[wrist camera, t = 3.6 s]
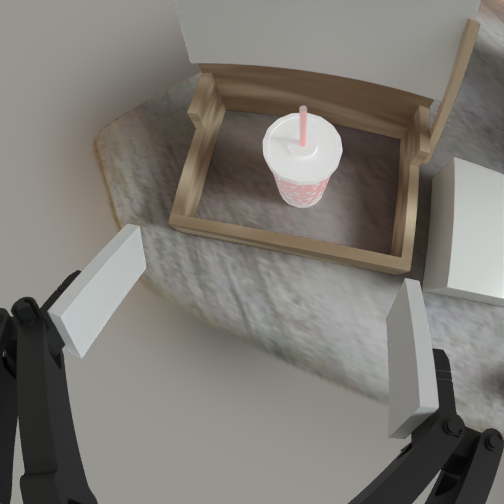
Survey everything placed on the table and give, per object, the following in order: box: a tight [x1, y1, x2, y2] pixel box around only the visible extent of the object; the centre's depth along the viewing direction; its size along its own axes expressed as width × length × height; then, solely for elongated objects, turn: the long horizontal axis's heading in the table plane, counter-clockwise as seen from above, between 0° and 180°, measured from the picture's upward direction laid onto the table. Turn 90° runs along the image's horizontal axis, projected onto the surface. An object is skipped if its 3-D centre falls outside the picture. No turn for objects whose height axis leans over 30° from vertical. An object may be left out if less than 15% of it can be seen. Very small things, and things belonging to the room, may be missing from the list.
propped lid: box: [173, 0, 481, 164], centre depth 19 cm, size 8×23×21 cm, turn 78°
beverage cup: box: [263, 106, 343, 208], centre depth 25 cm, size 6×6×14 cm
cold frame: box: [168, 63, 434, 275], centre depth 28 cm, size 16×22×9 cm
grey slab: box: [422, 157, 504, 307], centre depth 26 cm, size 12×12×6 cm
